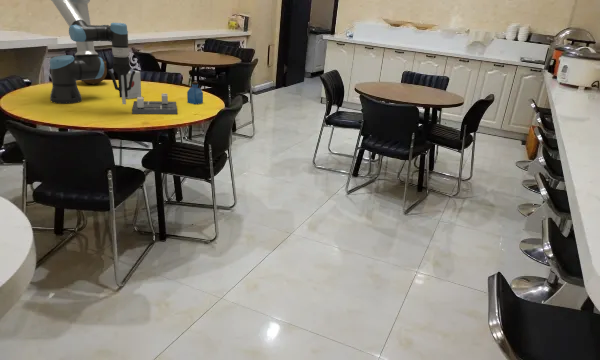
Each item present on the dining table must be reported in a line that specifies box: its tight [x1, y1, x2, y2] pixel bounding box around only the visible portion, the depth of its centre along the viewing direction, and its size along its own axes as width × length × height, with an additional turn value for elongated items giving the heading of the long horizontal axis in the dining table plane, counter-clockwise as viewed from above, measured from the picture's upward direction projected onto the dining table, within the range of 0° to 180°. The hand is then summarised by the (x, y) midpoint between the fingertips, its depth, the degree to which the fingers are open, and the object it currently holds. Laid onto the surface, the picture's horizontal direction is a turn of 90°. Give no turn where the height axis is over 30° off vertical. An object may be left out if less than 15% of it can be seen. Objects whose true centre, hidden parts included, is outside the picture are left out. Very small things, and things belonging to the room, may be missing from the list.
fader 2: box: [161, 93, 169, 104], centre depth 247 cm, size 3×5×5 cm, turn 16°
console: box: [131, 100, 178, 115], centre depth 243 cm, size 22×19×2 cm
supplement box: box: [121, 70, 142, 100], centre depth 265 cm, size 9×9×15 cm
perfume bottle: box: [186, 81, 204, 105], centre depth 263 cm, size 6×6×12 cm
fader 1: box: [136, 96, 145, 108], centre depth 235 cm, size 3×5×4 cm, turn 16°
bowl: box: [80, 59, 108, 85], centre depth 291 cm, size 19×19×15 cm
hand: (124, 103), depth 233 cm, fingers closed
